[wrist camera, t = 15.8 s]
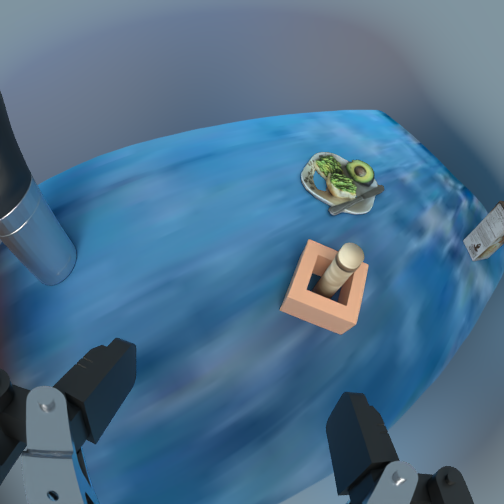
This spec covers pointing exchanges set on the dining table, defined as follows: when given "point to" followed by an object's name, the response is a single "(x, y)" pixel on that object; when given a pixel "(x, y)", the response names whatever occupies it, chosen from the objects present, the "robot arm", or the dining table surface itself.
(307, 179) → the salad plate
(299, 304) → the orange square ring
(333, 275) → the birch peg
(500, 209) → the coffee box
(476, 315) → the dining table surface
